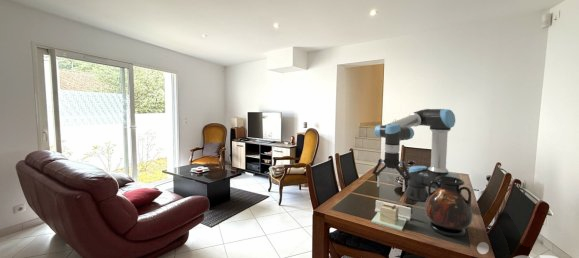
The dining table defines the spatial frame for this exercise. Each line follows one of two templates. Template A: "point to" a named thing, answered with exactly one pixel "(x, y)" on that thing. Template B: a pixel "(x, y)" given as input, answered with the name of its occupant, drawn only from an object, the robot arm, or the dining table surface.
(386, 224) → the display pad
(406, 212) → the white slab
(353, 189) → the dining table surface
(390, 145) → the robot arm
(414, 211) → the dining table surface
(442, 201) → the amphora vase
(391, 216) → the maple cube
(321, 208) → the dining table surface
